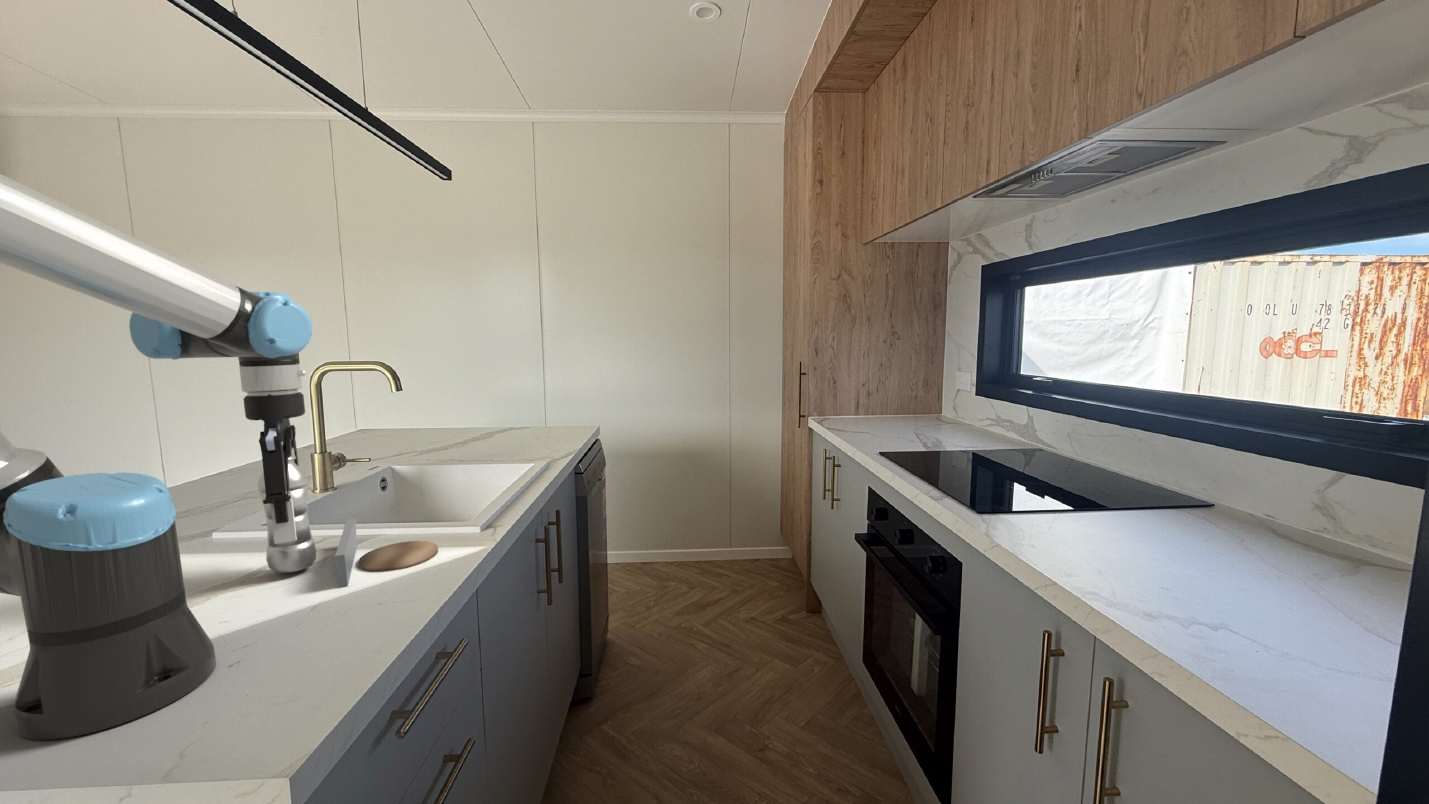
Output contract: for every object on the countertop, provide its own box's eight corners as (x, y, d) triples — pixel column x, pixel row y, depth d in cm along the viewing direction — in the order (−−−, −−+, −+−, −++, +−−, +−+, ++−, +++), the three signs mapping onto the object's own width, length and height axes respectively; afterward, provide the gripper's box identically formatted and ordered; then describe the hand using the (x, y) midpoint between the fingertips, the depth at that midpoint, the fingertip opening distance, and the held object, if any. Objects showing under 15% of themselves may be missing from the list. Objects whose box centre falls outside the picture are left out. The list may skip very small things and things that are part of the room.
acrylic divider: (338, 587, 88) (334, 556, 87) (349, 545, 105) (347, 519, 104) (347, 585, 88) (344, 554, 87) (357, 544, 106) (354, 518, 105)
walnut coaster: (356, 577, 91) (355, 573, 91) (361, 552, 102) (361, 549, 102) (439, 561, 97) (439, 558, 97) (436, 539, 107) (436, 536, 107)
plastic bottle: (299, 578, 90) (285, 453, 88) (257, 578, 91) (241, 453, 88) (327, 561, 97) (315, 444, 94) (288, 562, 97) (274, 445, 95)
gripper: (292, 396, 84) (309, 549, 86) (311, 386, 100) (324, 515, 103) (226, 400, 80) (245, 559, 83) (257, 389, 97) (272, 522, 100)
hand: (289, 534), depth 93 cm, fingers closed on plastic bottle, 6 cm apart
